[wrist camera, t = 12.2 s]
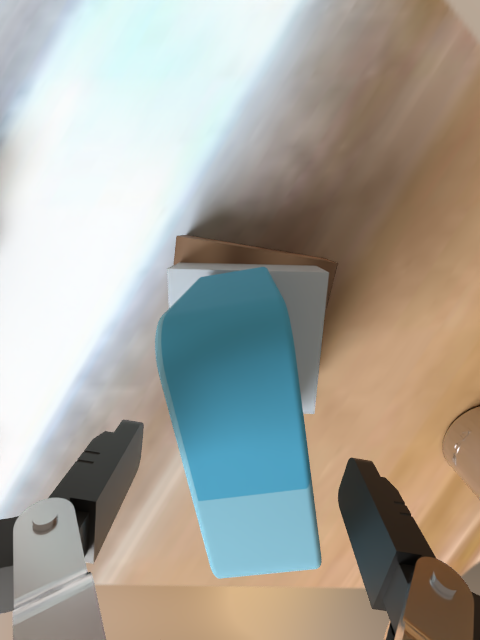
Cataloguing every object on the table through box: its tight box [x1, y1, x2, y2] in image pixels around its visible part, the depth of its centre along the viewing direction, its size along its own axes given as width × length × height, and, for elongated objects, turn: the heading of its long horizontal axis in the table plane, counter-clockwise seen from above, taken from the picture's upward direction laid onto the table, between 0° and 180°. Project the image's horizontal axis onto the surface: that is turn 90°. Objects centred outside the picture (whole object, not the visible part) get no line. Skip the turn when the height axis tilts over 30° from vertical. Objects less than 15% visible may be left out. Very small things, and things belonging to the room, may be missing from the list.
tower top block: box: [167, 263, 329, 414], centre depth 24 cm, size 11×11×4 cm
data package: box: [155, 267, 321, 578], centre depth 17 cm, size 12×4×12 cm, turn 10°
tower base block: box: [174, 235, 338, 312], centre depth 28 cm, size 13×13×4 cm
